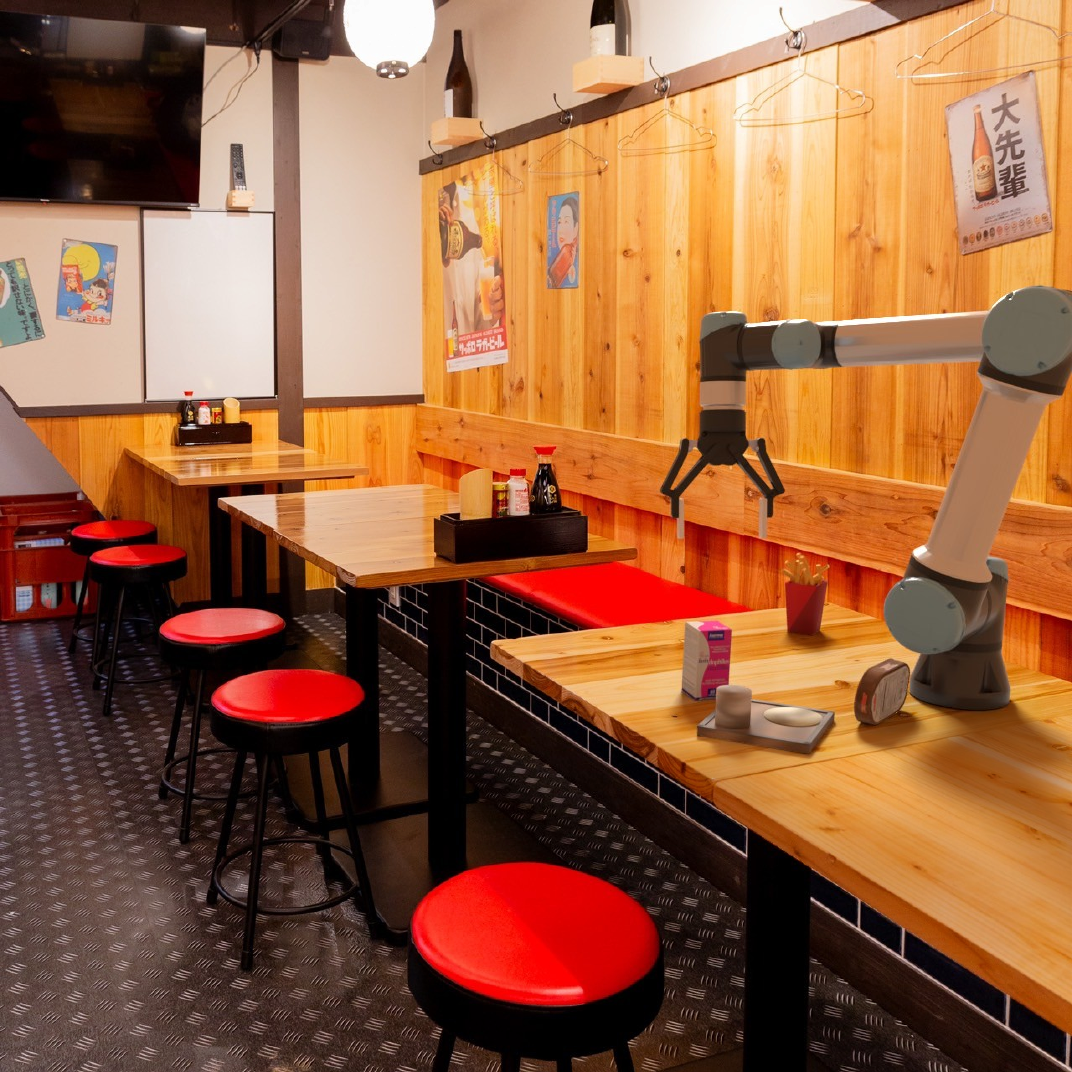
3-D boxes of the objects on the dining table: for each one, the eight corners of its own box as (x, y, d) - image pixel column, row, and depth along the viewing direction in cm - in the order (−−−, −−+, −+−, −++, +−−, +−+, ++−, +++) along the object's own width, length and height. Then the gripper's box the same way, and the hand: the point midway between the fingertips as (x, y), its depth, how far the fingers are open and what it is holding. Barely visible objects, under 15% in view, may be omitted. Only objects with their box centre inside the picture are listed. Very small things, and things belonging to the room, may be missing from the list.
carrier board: (834, 720, 173) (836, 680, 172) (809, 754, 158) (811, 710, 157) (729, 704, 179) (731, 665, 178) (696, 735, 165) (698, 693, 164)
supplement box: (695, 701, 181) (698, 630, 179) (680, 690, 186) (683, 621, 184) (729, 699, 182) (732, 628, 180) (714, 688, 188) (716, 619, 186)
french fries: (826, 630, 227) (830, 554, 224) (812, 639, 220) (816, 561, 217) (783, 623, 231) (786, 549, 229) (767, 632, 224) (771, 556, 222)
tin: (891, 704, 181) (895, 652, 180) (911, 708, 179) (915, 655, 178) (850, 728, 170) (853, 672, 168) (871, 733, 168) (874, 676, 166)
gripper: (793, 409, 194) (791, 536, 196) (644, 409, 194) (643, 536, 195) (804, 407, 187) (802, 539, 188) (649, 408, 186) (648, 540, 188)
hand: (721, 538), depth 192 cm, fingers open, 13 cm apart
